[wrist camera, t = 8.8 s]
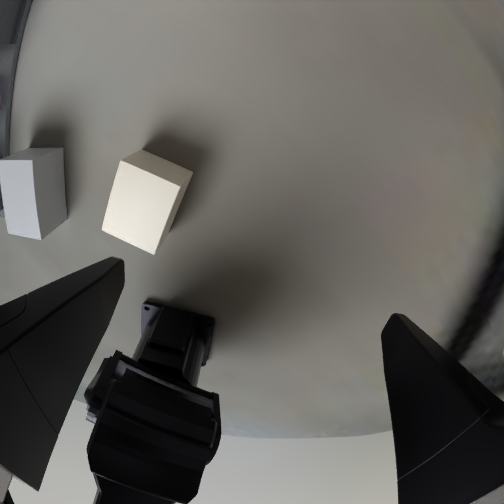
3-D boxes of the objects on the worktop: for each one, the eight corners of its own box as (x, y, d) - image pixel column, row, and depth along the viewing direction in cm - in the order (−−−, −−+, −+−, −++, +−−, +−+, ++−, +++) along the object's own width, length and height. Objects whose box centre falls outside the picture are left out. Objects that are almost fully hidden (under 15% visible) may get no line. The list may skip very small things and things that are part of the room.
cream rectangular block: (169, 231, 22) (154, 254, 19) (122, 210, 21) (101, 229, 18) (194, 171, 20) (180, 186, 16) (142, 149, 19) (120, 160, 16)
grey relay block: (68, 218, 22) (41, 240, 18) (35, 213, 21) (8, 233, 18) (64, 147, 19) (32, 160, 15) (30, 147, 19) (-2, 160, 15)
